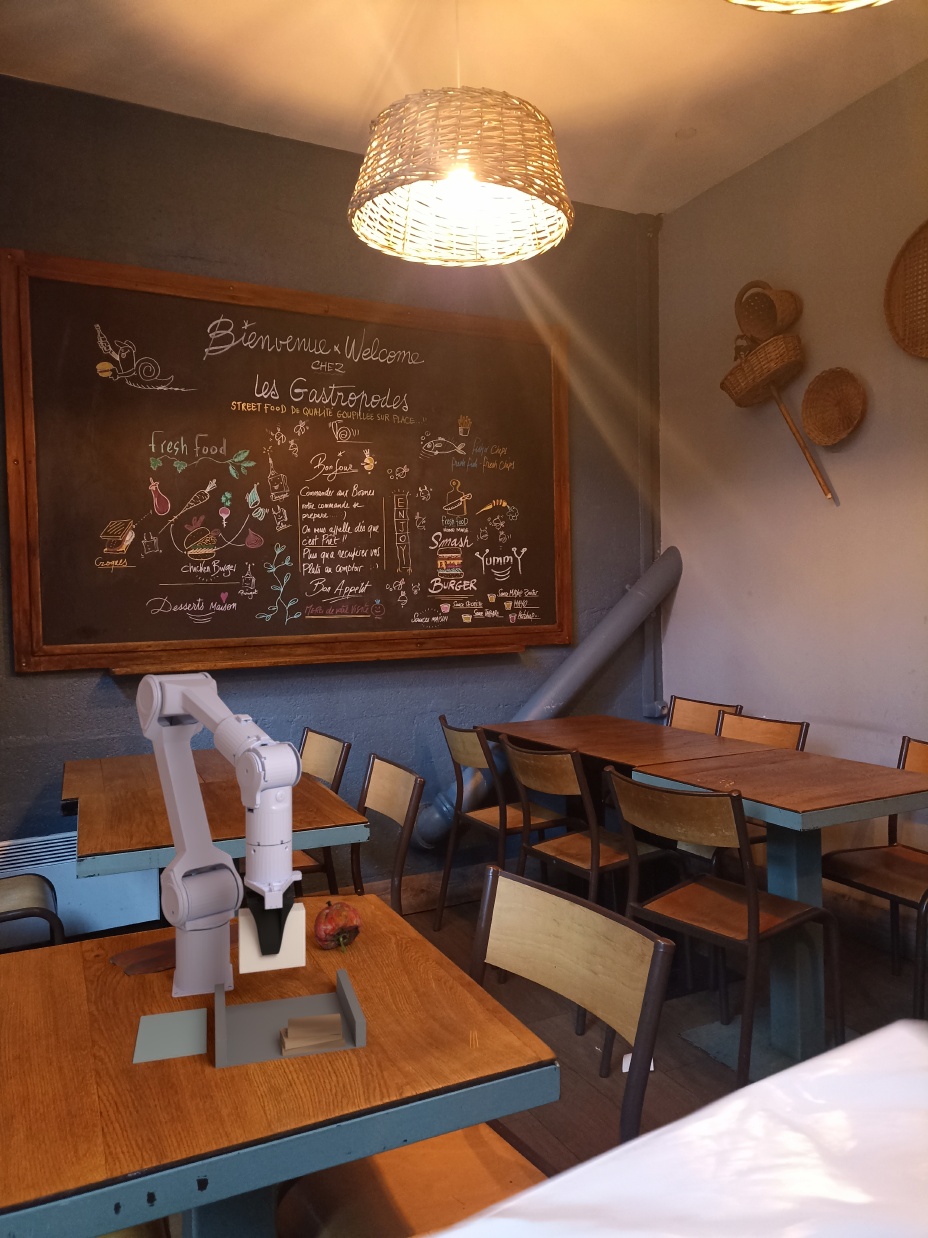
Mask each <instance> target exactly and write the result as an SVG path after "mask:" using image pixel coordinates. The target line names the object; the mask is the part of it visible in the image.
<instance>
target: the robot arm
mask: <svg viewBox="0 0 928 1238" xmlns="http://www.w3.org/2000/svg"><path fill="white" fill-rule="evenodd" d="M217 687H218V686H217V681H216V680H215V679H214V678H212V676H211V675H210V674H209V673H208V672H207V671H205V672H204V671H202V672H197V673H184V674H183V673H180V674H179V673H178V674H159V675H157V674H156V675H154V674H146V675H144V676H143V678H142V679H141V681H140V682H139V684H138V688H137V692H136V693H137V694H136V695H135V696H136V698H135V704H136V705H135V706H136V709H137V715H138V719H139V725H140V728H141V730H142V731H141V732H142V735H143V737H144V738H146V739H147V740H150V741H151V743H152V747H153V748H152V749H153V753H154V757H155V762H156V765H157V766H156V767H157V771H158V775H159V781H160V786H161V790H162V794H163V800H164V804H165V808H166V809H165V810H166V814H167V818H168V822H169V827H170V831H171V833H170V834H171V835H172V842H173V846H174V847H173V848H174V850H175V854H176V855H175V856H174V858H173V859H172V860H171V861H170V862H169V863H168V865H167V866H166V867H165V868H164V870H163V871H162V873H161V874H160V886H161V895H160V896H161V901H160V902H161V903H160V904H161V910H162V912H163V915H164V917H165V919H166V920H167V921H168V923H170V925H171V926H173V927H175V937H176V967H175V970H174V971H173V981H172V982H173V983H172V992H171V997H172V998H181V997H187V996H196V995H204V994H205V995H206V994H213V993H214V994H215V984H223V983H224V989H225V992H229V991H232V990H234V988H235V987H234V977H233V975H234V974H233V964H232V963H231V956H230V955H231V950H230V925H231V924H230V923H231V922H230V920H231V919H234V918H235V911H237V910H239V909H240V907H241V904H242V901H243V898H244V893H245V894H246V896H247V898H246V903H247V908H249V909H250V911H251V913H252V915H253V917H254V920H255V923H256V927H257V932H258V939H259V945H260V949H261V953H262V955H263V956H264V955H273V954H279V952H280V948H281V944H282V938H283V932H284V927H285V923H286V920H287V917H288V915H289V912H290V910H291V909H292V907H293V904H294V903H295V898H294V896H288V895H289V894H290V893H289V892H290V890H291V884H292V883H293V882H295V881H301V880H302V878H303V877H302V875H303V874H302V872H301V870H293V788H294V787H295V786H297V784H298V783H299V781H300V779H301V776H302V759H301V755H300V754H299V752H298V750H297V748H296V747H295V746H294V744H293V743H292V742H290V741H279V740H277V741H275V740H273V738H271V737H270V736H269V735H268V734H267V733H266V732H265V731H264V730H263V729H262V728H260V727H259V725H257V724H256V723H255V722H254V721H253V718H252V717H251V716H250V714H247V713H246V714H245V713H244V714H241V713H238V714H234V713H233V711H231V709H229V707H228V706H227V705H226V704H225V702H224V701H223V700H222V699H221V697H220V696H219V695H218V688H217ZM204 727H205V728H206V729H208V730H209V731H210V732H211V733H213V739H212V740H213V744H214V747H215V748H216V749H217V751H219V753H220V754H221V755H223V756H224V758H225V759H226V760H227V761H228V762H229V763H230V764H231V765H232V766H233V767H234V768H235V776H236V781H237V783H238V786H239V789H240V801H241V803H242V806H243V807H245V875H244V877H243V880H242V878H241V876H240V874H239V873H238V871H237V869H236V867H235V864H234V861H233V858H232V856H231V854H230V853H227V852H225V851H224V850H221V849H220V848H218V847H217V846H215V845H214V844H213V839H212V834H211V830H210V827H209V822H208V817H207V813H206V809H205V804H204V800H203V795H202V791H201V787H200V781H199V777H198V773H197V768H196V765H195V760H194V756H193V751H192V747H191V739H192V737H194V736H195V735H197V734H198V733H200V732H201V731H202V730H203V728H204ZM243 883H244V885H243ZM244 886H246V887H245V888H244Z"/></svg>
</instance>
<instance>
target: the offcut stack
mask: <svg viewBox="0 0 928 1238" xmlns="http://www.w3.org/2000/svg"><path fill="white" fill-rule="evenodd" d="M280 1044H281V1050H282V1056H288V1055H294V1054H301V1053H308V1052H315V1051H322V1050H329V1049H335V1048H342V1047H345V1038H344V1035H343V1032H342V1024H341V1017H340V1014H332V1015H321V1016H311V1017H300V1018H290V1019H288V1028H284V1029H280Z"/></svg>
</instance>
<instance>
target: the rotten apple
mask: <svg viewBox="0 0 928 1238" xmlns="http://www.w3.org/2000/svg"><path fill="white" fill-rule="evenodd" d="M325 904H326V905H327V906H325V907H324V908H322V909H321V910H320V911H319V912H318V913H317V916H316V917H315V920H314V927H313V929H314V938H315V941H316V943H317V944H318V945H320V946H321V947H322V948H323V949H324V950H332V949H335V948H338V946H340V947H341V948H342V951H343V953H344V954H346V951H345V950H346V949H345V948H346V946H348V945H350V944H352V943H354V942H355V940H356V938H357V937H359V934H360V933H361V932H362V930H363V929H362V928H363V920H362V919H363V918H362V915H361V914H360V913H359V912H358V910H356V909H357V908H355V907H353V906H351V905H349V904H348V903H346V902H343V901H341V902H340V901H338V902H335V903H332V901H331V900H327V902H325Z"/></svg>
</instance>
